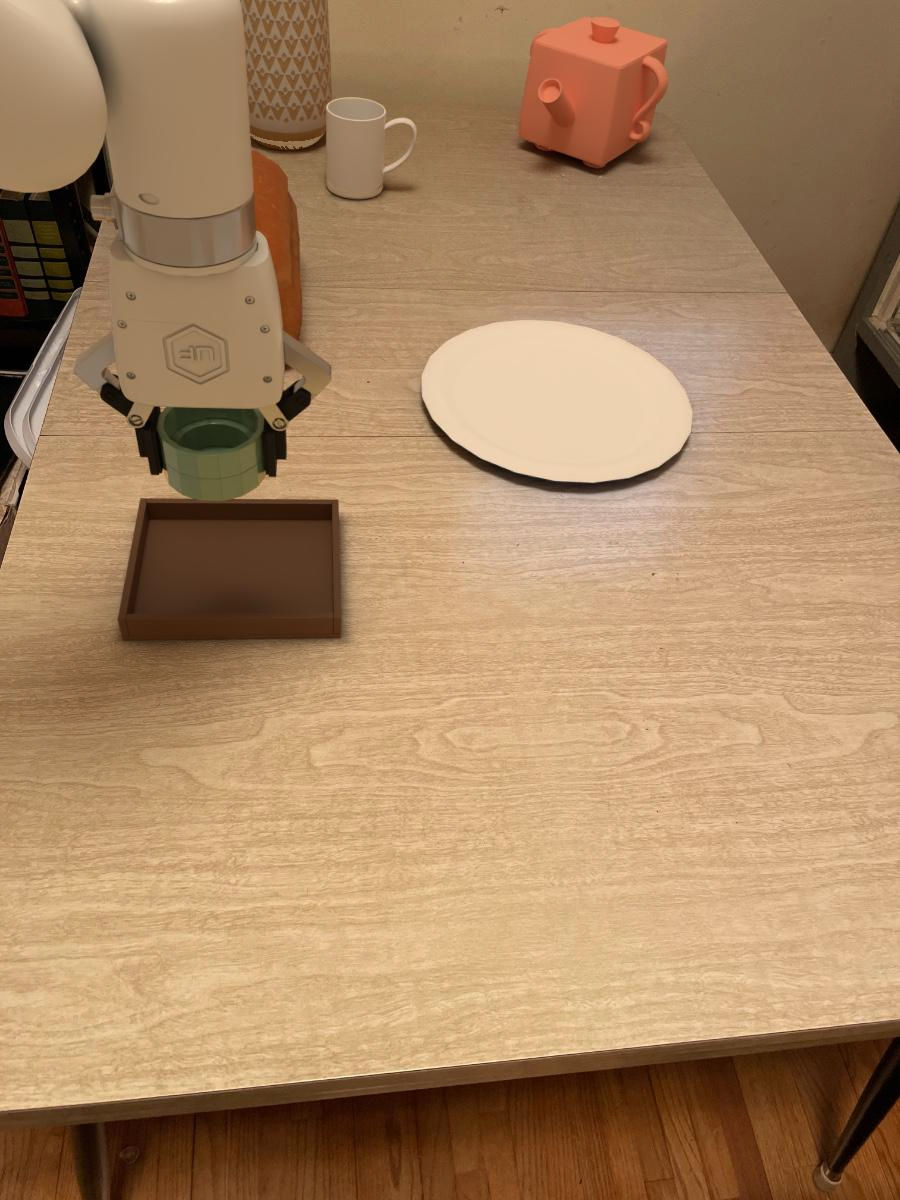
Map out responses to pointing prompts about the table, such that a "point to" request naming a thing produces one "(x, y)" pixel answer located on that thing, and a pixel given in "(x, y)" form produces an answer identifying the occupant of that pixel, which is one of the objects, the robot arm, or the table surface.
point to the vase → (287, 68)
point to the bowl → (212, 451)
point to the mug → (359, 146)
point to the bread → (279, 236)
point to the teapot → (592, 89)
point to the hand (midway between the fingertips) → (215, 462)
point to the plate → (556, 401)
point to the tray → (233, 570)
